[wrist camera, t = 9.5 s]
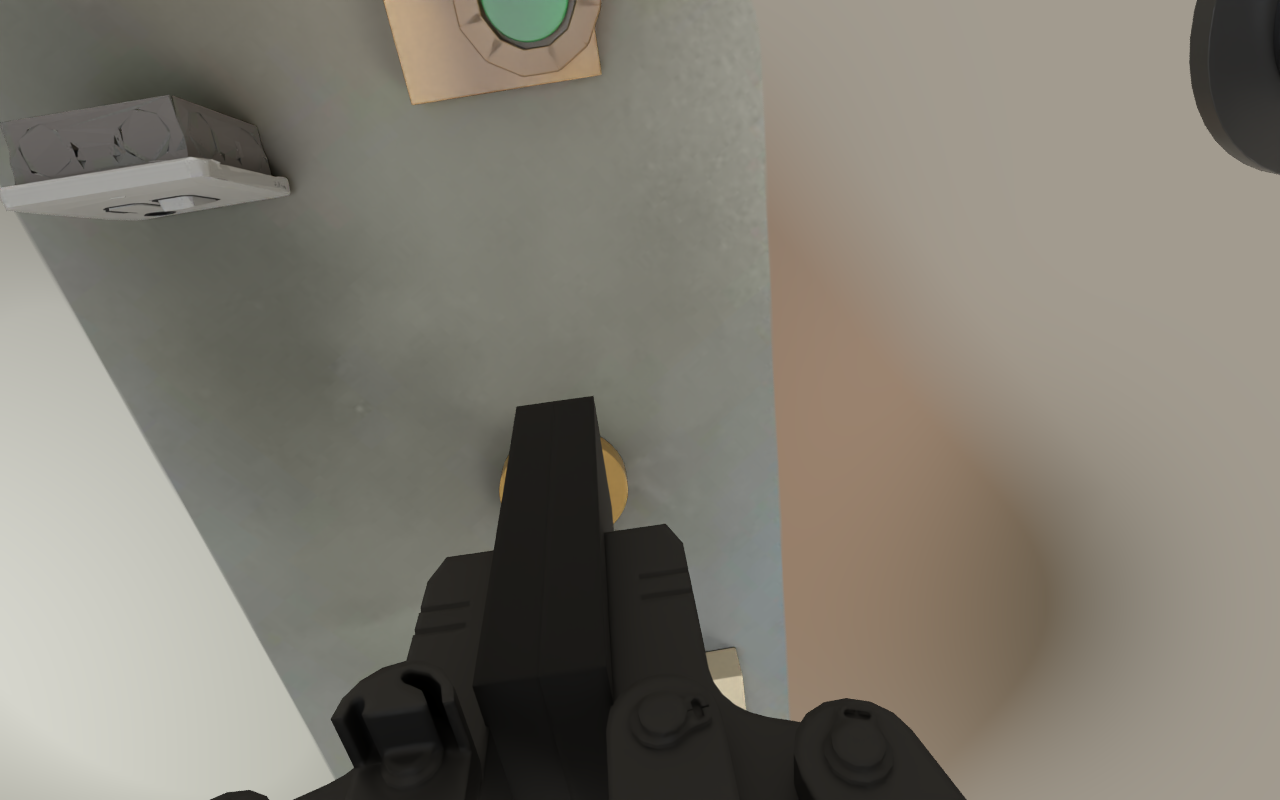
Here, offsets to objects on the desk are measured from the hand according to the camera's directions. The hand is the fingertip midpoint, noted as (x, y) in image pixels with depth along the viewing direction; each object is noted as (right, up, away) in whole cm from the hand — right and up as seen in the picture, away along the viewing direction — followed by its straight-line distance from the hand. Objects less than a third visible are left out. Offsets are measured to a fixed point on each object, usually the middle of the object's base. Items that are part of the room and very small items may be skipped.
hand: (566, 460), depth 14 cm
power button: (-4, +21, +19) cm, 28 cm away
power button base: (-6, +22, +22) cm, 32 cm away
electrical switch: (-23, +15, +25) cm, 37 cm away
